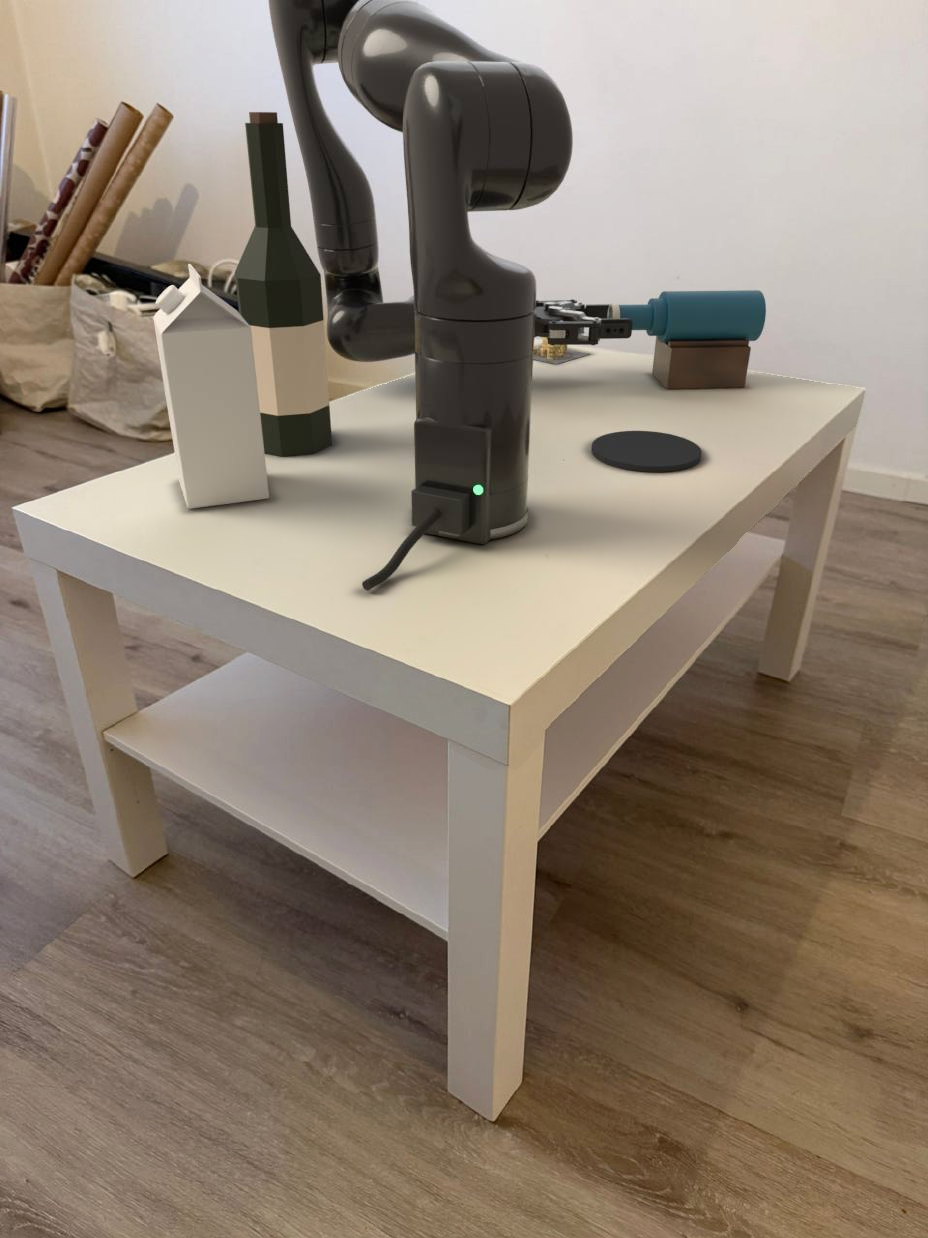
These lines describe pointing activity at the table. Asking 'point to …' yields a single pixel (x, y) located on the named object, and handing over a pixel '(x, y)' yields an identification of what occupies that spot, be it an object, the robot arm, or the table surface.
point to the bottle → (698, 315)
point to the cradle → (701, 363)
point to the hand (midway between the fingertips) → (622, 320)
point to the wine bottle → (282, 306)
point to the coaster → (646, 451)
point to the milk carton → (210, 396)
